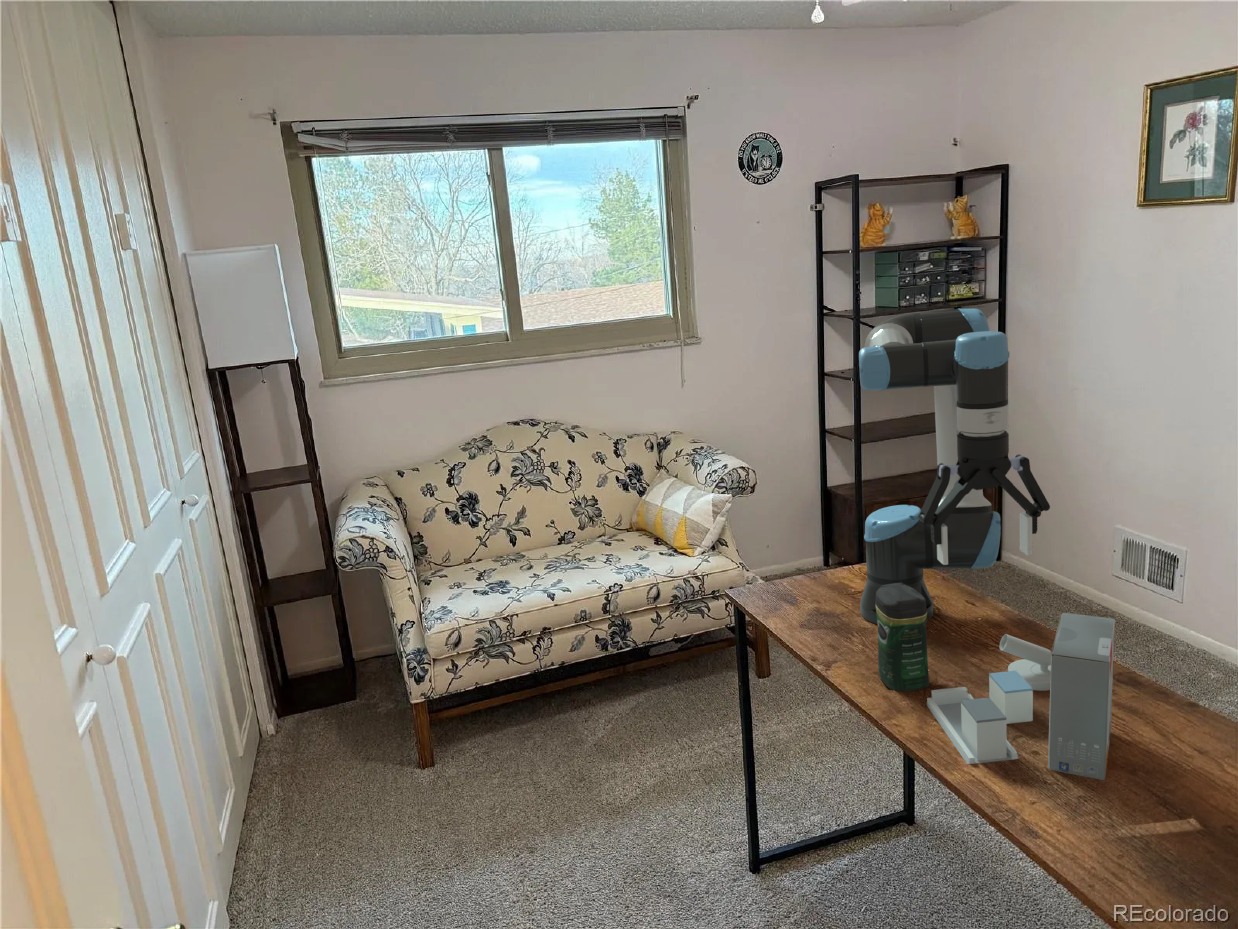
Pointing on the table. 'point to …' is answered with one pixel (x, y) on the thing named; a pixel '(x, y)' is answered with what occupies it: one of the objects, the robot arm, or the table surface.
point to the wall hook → (1029, 661)
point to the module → (1011, 696)
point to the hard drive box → (1081, 695)
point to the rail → (957, 721)
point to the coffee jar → (902, 637)
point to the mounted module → (984, 729)
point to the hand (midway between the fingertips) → (984, 557)
